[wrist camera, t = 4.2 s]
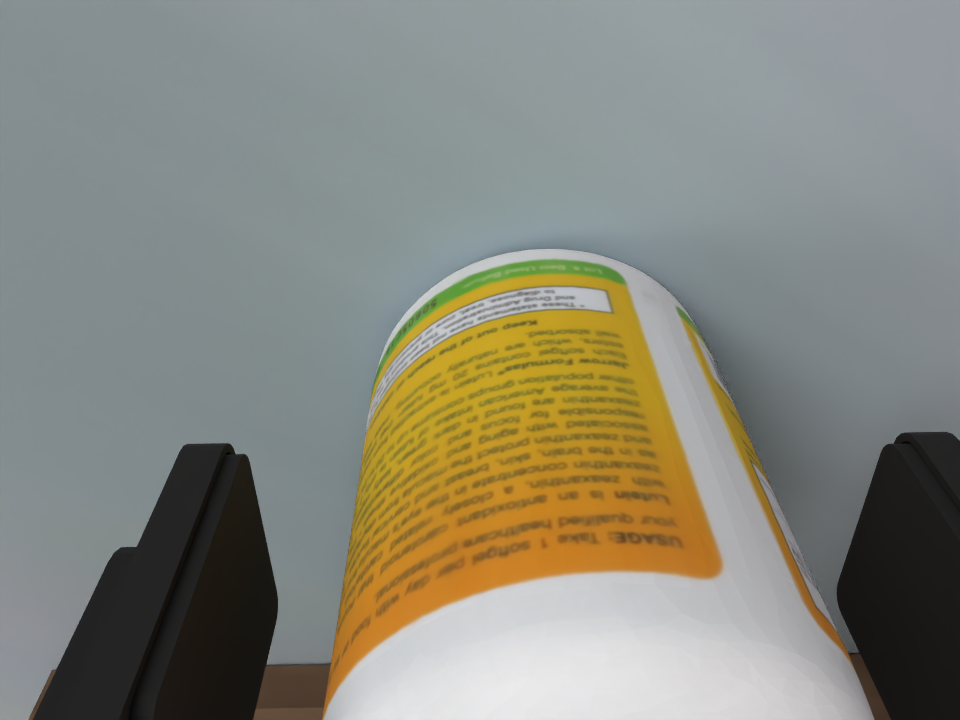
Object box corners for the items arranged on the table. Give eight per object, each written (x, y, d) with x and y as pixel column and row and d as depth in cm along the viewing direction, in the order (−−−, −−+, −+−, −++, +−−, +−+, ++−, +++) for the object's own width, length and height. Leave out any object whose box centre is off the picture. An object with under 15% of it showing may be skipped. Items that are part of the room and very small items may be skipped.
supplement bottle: (317, 429, 14) (117, 1276, 6) (490, 170, 12) (554, 1011, 3) (575, 548, 16) (696, 1336, 8) (774, 343, 13) (1272, 1186, 5)
